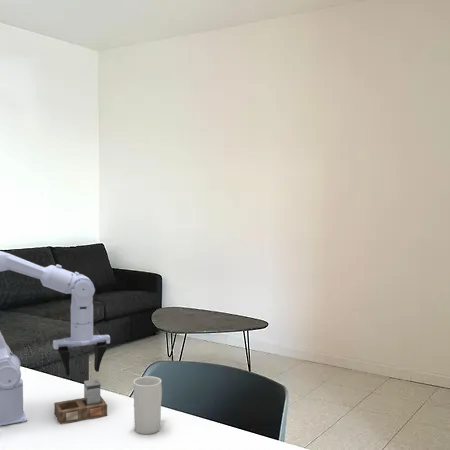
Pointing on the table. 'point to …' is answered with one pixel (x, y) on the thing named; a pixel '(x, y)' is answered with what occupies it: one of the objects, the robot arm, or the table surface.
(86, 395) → the plug
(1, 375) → the robot arm
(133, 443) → the table surface
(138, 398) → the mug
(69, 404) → the port block
